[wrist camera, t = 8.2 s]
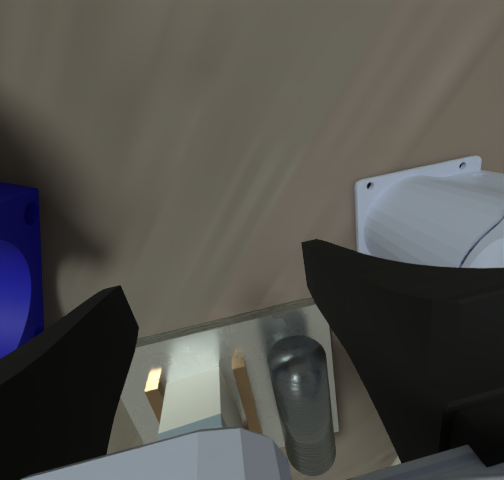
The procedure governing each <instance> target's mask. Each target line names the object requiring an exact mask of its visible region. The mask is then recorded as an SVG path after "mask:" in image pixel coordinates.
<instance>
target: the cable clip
mask: <svg viewBox="0 0 504 480" xmlns="http://www.w3.org/2000/svg"><path fill="white" fill-rule="evenodd" d="M43 331H44V319H43V293H42V268H41V243H40V218H39V193H38V188H32V187H26V186H20V185H14V184H7V183H1V182H0V359H1V358H2V357H4V356H6V355H7V354H9V353H11V352H12V351H14V350H16V349H17V348H19V347H20V346H22V345H24V344H25V343H27V342H28V341H30V340H31V339H33V338H34V337H36V336H37V335H38V334H40V333H41V332H43Z"/></svg>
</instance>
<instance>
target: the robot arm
mask: <svg viewBox="0 0 504 480" xmlns="http://www.w3.org/2000/svg"><path fill="white" fill-rule="evenodd" d="M461 163H462V165H461V167H460V168H459V166H460V164H461ZM480 169H481V158H480V157H479V156H469V157H464V158H459V159H455V160H450V161H445V162H441V163H436V164H431V165H427V166H422V167H417V168H413V169H408V170H403V171H399V172H394V173H389V174H385V175H380V176H375V177H371V178H366V179H361V180H359V181H357V182H356V184H355V187H354V193H355V218H356V243H357V252H356V251H353V250H350V249H347V248H344V247H341V246H338V245H335V244H332V243H329V242H326V241H323V240H318V239H314V240H310V241H306V242H302V251H303V258H304V266H305V273H306V281H307V287H308V289H309V291H310V293H311V295H312V298H313V300H314V302H315V304H316V306H317V307H318V309H319V310H320V312H321V313H322V315H323V317H324V318H325V320H326V321H327V323H328V324H329V326H330V327H331V329H332V330H333V332H334V333H335V335H336V336H337V338H338V339H339V341H340V342H341V344H342V345H343V347H344V348H345V350H346V352H347V353H348V355H349V357H350V358H351V360H352V362H353V364H354V366H355V368H356V370H357V372H358V374H359V376H360V378H361V379H362V381H363V383H364V385H365V387H366V389H367V391H368V393H369V395H370V397H371V399H372V402H373V404H374V406H375V408H376V410H377V412H378V414H379V416H380V418H381V420H382V422H383V424H384V426H385V429H386V431H387V433H388V435H389V437H390V439H391V441H392V443H393V446H394V448H395V450H396V452H397V454H398V457H399V459H400V461H401V463H402V464H398V465H395V466H391V467H388V468H384V469H381V470H377V471H374V472H371V473H367V474H364V475H360V476H357V477H353V478H350V479H346V480H504V174H502V173H496V172H489V171H483V170H480ZM368 183H371V186H370V187H369V188H368V189H367V184H368ZM138 330H139V327H138V324H137V322H136V320H135V318H134V315H133V313H132V311H131V308H130V306H129V304H128V301H127V299H126V297H125V295H124V292H123V290H122V288H121V285H119V286H115V287H111V288H107V289H104V290H102V291H100V292H98V293H97V294H95V295H93V296H92V297H90V298H89V299H88V300H86V301H85V302H83V303H82V304H81V305H79V306H78V307H76V308H75V309H74V310H72V311H71V312H70V313H68V314H67V315H66V316H64V317H63V318H61V319H60V320H59V321H57V322H56V323H54V324H53V325H51V326H50V327H49V328H47V329H46V330H44V331H43V332H41V333H40V334H38V335H37V336H36V337H34V338H33V339H31V340H30V341H28V342H27V343H25V344H24V345H22V346H20V347H19V348H17V349H16V350H14V351H12V352H11V353H9V354H7V355H6V356H4V357H2V358H1V359H0V480H292V477H291V472H290V468H289V464H288V460H287V458H286V456H285V455H284V454H283V452H282V451H281V450H280V448H279V447H278V446H277V444H276V443H275V442H274V440H273V439H272V438H270V437H267V436H265V435H262V434H259V433H256V432H253V431H250V430H247V429H244V428H241V427H238V426H232V427H221V428H209V429H200V430H196V431H192V432H189V433H185V434H181V435H178V436H174V437H170V438H166V439H163V440H159V441H155V442H151V443H148V444H144V445H140V446H137V447H133V448H129V449H125V450H122V451H118V452H114V453H111V454H107V448H108V444H109V439H110V434H111V430H112V425H113V420H114V417H115V413H116V410H117V406H118V403H119V400H120V397H121V394H122V391H123V388H124V385H125V381H126V378H127V375H128V372H129V369H130V366H131V363H132V360H133V356H134V353H135V349H136V343H137V337H138ZM106 454H107V455H106Z"/></svg>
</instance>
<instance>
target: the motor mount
mask: <svg viewBox="0 0 504 480" xmlns="http://www.w3.org/2000/svg"><path fill="white" fill-rule="evenodd" d="M218 366H219V368H220V370H221V372H222V375H223V377H224V379H225V382H226V384H227V386H228V389H229V391H230V393H231V395H232V398H233V400H234V402H235V405H236V407H237V409H238V412H239V414H240V416H241V418H242V422H243V428H244V429H247V430H250V431H253V432H256V433H259V434H262V435H265V436H267V437H270V438H272V439H273V440H274V442H275V443H276V444H277V446H278V447H279V448H280V447H283V446H285V448H286V452H287V456H288V459H289V461H290V463H291V464H292V466H293V467H294V468H295V469H296V470H298V471H299V472H301V473H302V474H305V475H309V476H317V475H321V474H323V473H325V472H326V471H328V470H329V469H330V468H331V466H332V465H333V463H334V460H335V456H336V447H335V437H334V433H335V432H339V426H338V415H337V405H336V394H335V383H334V372H333V361H332V350H331V340H330V329H329V324H328V323H327V321H326V320H325V318H324V317H323V315H322V313H321V312H320V310H319V309H318V307H317V306H316V304H315V302H314V300H313V298H308V299H303V300H299V301H295V302H291V303H287V304H282V305H278V306H274V307H270V308H266V309H262V310H257V311H253V312H249V313H245V314H241V315H236V316H232V317H228V318H224V319H220V320H215V321H211V322H207V323H203V324H199V325H194V326H190V327H186V328H182V329H178V330H174V331H169V332H165V333H161V334H157V335H153V336H148V337H144V338H140V339H137V343H136V349H135V353H134V356H133V360H132V363H131V366H130V369H129V372H128V375H127V378H126V381H125V385H124V388H123V391H122V394H121V399H122V401H123V403H124V405H125V407H126V409H127V411H128V413H129V415H130V417H131V419H132V421H133V423H134V425H135V427H136V429H137V431H138V432H139V434H140V436H141V438H142V440H143V442H144V444H148V443H151V442H155V441H157V437H158V431H159V425H160V419H161V413H162V407H163V401H164V395H165V389H166V383H169V382H172V381H175V380H178V379H181V378H184V377H187V376H191V375H194V374H197V373H200V372H203V371H206V370H209V369H212V368H215V367H218Z"/></svg>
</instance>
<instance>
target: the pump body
mask: <svg viewBox="0 0 504 480" xmlns="http://www.w3.org/2000/svg"><path fill="white" fill-rule="evenodd" d="M232 426H238V427H241V428H243V422H242V418H241V416H240V414H239V412H238V409H237V407H236V405H235V402H234V400H233V398H232V395H231V393H230V391H229V389H228V386H227V384H226V382H225V379H224V377H223V375H222V372H221V370H220V368H219V366H218V367H215V368H212V369H209V370H206V371H203V372H200V373H197V374H194V375H191V376H187V377H184V378H181V379H178V380H175V381H172V382H169V383H166V389H165V395H164V401H163V407H162V413H161V419H160V425H159V431H158V437H157V441H159V440H163V439H166V438H170V437H174V436H178V435H181V434H185V433H189V432H192V431H196V430H200V429H209V428H221V427H232Z"/></svg>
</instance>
